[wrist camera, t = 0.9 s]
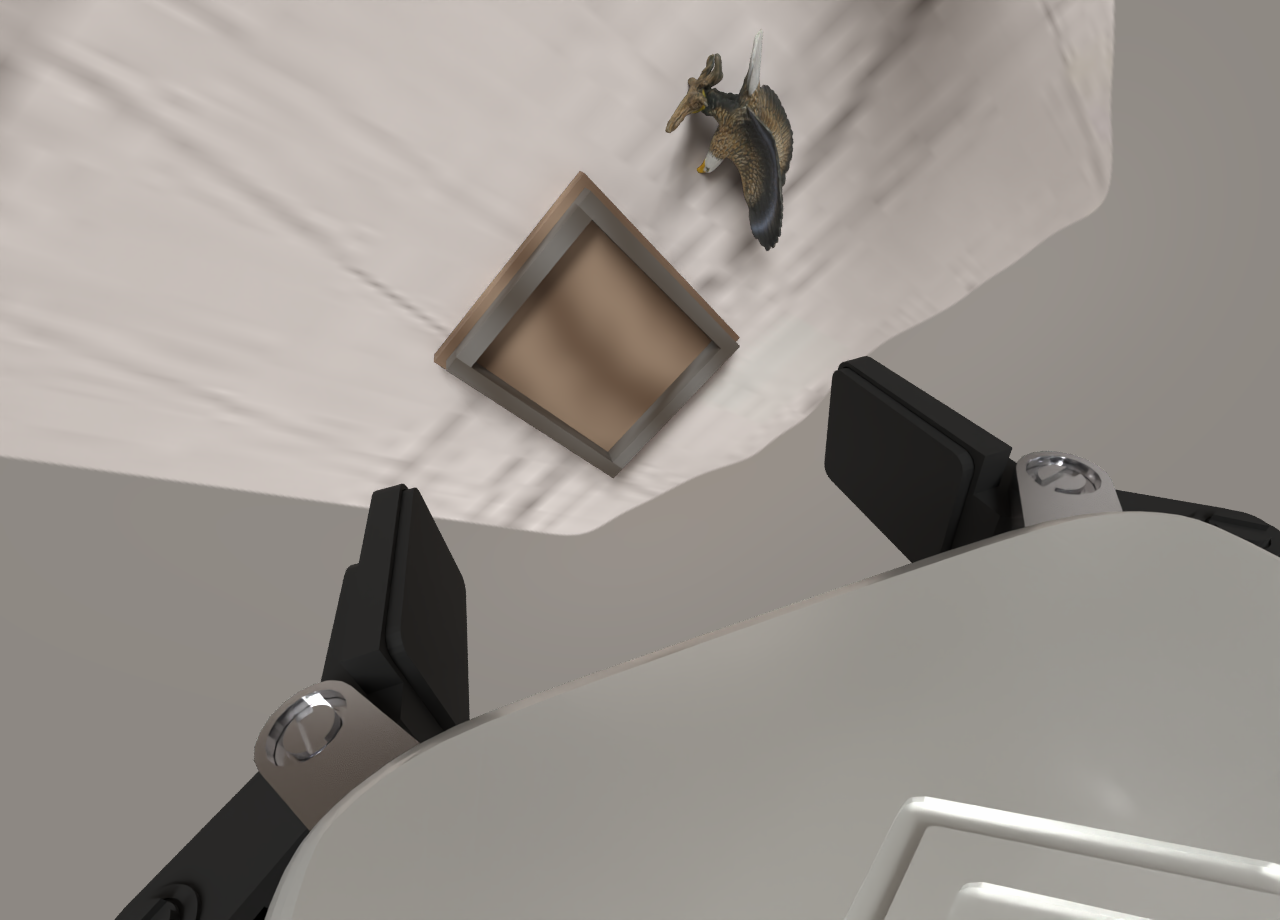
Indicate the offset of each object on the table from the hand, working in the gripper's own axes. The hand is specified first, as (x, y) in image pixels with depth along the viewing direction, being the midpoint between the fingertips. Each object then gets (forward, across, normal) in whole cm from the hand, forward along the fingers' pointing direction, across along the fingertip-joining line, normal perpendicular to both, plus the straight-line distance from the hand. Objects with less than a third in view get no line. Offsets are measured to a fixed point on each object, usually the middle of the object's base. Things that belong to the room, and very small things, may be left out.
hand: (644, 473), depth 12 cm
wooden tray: (+25, -3, +8) cm, 26 cm away
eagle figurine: (+25, -13, -2) cm, 28 cm away
